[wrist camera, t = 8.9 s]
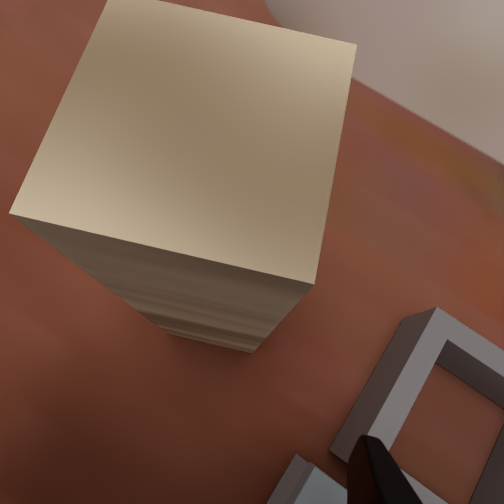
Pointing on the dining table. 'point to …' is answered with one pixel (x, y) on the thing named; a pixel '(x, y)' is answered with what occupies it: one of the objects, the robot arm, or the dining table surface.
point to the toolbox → (408, 405)
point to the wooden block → (194, 166)
